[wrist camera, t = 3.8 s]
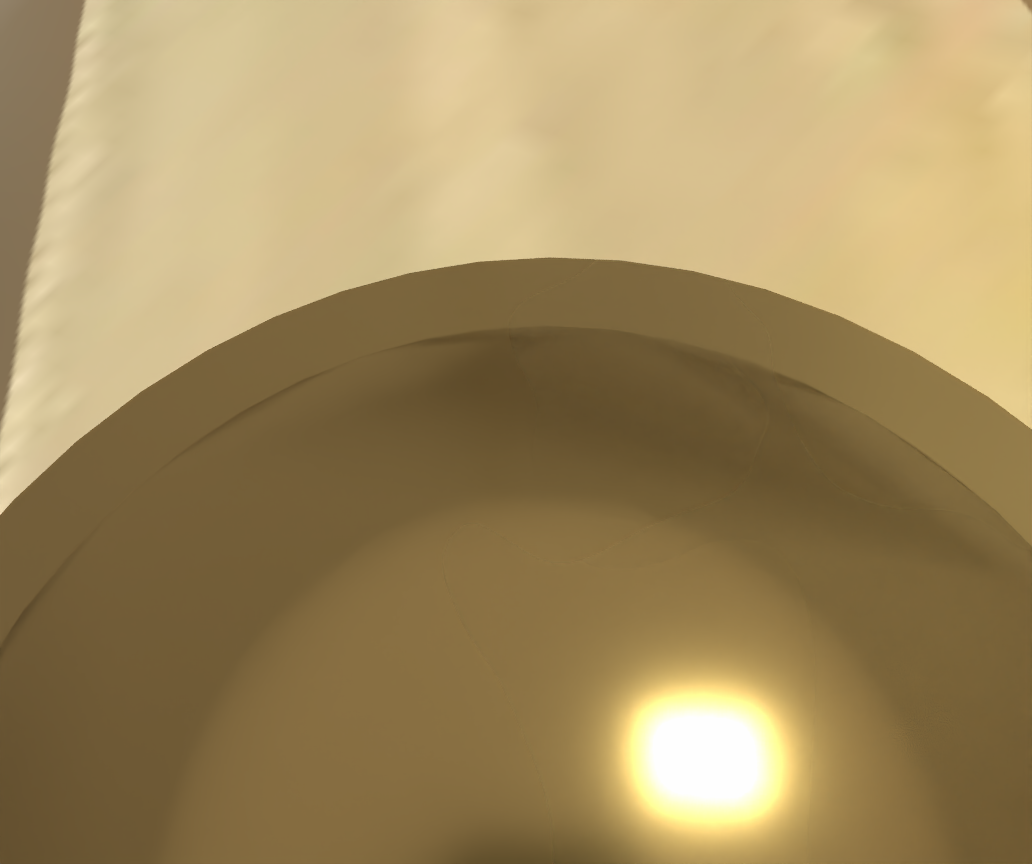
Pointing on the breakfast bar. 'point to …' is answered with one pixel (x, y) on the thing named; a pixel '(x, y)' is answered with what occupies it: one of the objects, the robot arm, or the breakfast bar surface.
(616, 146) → the breakfast bar surface
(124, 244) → the breakfast bar surface
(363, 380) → the knob
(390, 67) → the breakfast bar surface
